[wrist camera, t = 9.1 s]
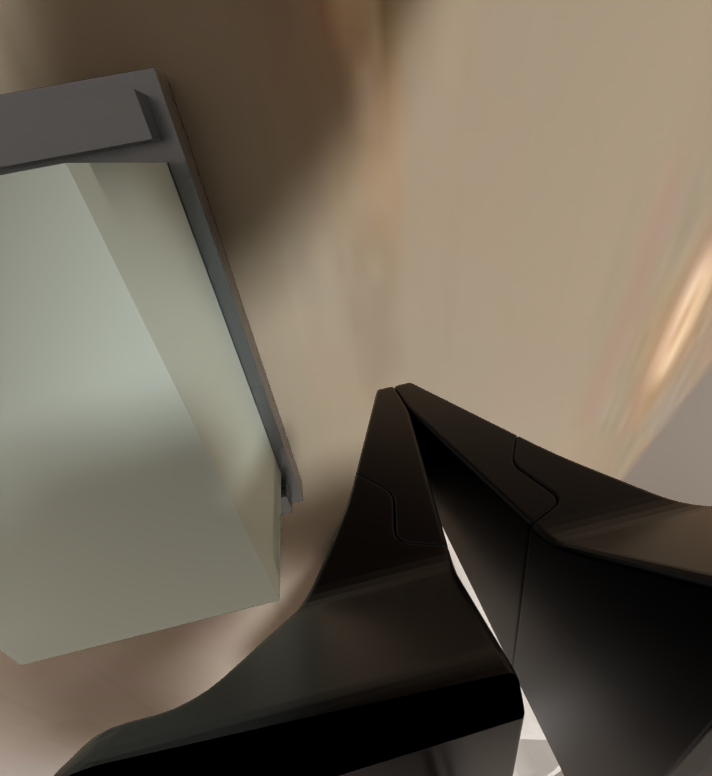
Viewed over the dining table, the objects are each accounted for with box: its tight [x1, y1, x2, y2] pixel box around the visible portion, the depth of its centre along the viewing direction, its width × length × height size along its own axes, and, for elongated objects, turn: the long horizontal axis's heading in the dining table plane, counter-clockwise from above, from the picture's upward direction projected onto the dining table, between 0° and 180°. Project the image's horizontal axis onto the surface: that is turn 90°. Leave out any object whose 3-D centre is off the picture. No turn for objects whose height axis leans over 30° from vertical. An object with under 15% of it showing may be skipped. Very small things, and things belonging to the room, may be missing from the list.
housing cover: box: [0, 163, 281, 665], centre depth 11 cm, size 8×12×6 cm, turn 10°
